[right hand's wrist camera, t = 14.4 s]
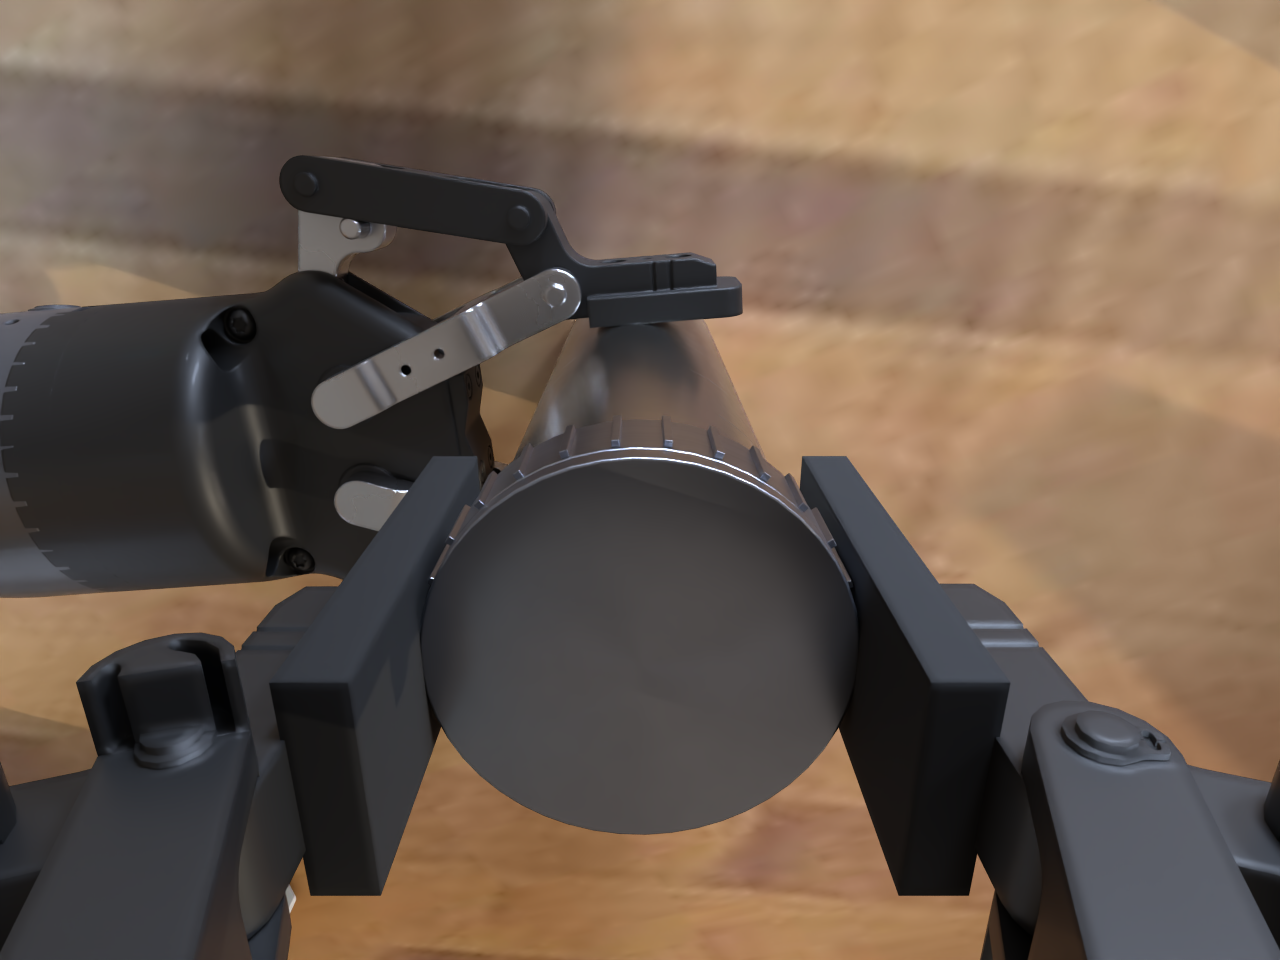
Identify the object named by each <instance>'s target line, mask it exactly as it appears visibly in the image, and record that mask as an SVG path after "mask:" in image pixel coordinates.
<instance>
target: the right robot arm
mask: <svg viewBox="0 0 1280 960" xmlns="http://www.w3.org/2000/svg"><path fill="white" fill-rule="evenodd" d="M800 491H801V493H802V495H803V497H804V499H805V501H806V503H807V505H808V506H809V508H810V509H811V510H812V509H813V508H815V507H816V508H817V509H818V511H819V513H820V514H821V516H822V518H823V520H824V522H825V524H826V526H827V528H828V530H829V531H830V533H831V535H832V537H833V539H834V541H835V543H836V545H837V546H835V547H834V548H835V549H836V551H837V553H838V555H839V557H840V559H841V561H842V563H843V565H844V567H845V569H846V571H847V573H848V575H849V576H850V578H851V580H852V584H853V587H852V588H850V590H851V593H852V597H853V600H854V603H855V606H856V610H857V617H858V624H859V630H860V641H859V651H858V661H857V669H856V677H855V686H854V690H853V693H852V697H851V700H850V703H849V706H848V708H847V711H846V713H845V715H844V717H843V719H842V721H841V723H840V725H839V730H840V733H841V736H842V738H843V741H844V744H845V747H846V749H847V752H848V755H849V758H850V761H851V763H852V766H853V769H854V772H855V775H856V777H857V780H858V783H859V786H860V789H861V791H862V794H863V797H864V800H865V803H866V805H867V808H868V811H869V814H870V817H871V819H872V822H873V825H874V828H875V831H876V833H877V836H878V839H879V842H880V845H881V847H882V850H883V853H884V856H885V859H886V861H887V864H888V867H889V870H890V873H891V875H892V878H893V881H894V884H895V887H896V889H897V892H898V895H899V896H969V893H970V888H971V882H972V877H973V872H974V867H975V862H976V857H977V854H978V856H979V858H980V860H981V862H982V864H983V866H984V868H985V870H986V872H987V874H988V876H989V878H990V880H991V882H992V884H993V886H994V888H995V892H994V897H993V901H992V906H991V911H990V916H989V920H988V925H987V930H986V935H985V939H984V944H983V949H982V954H981V958H980V960H1280V761H1279V764H1278V766H1277V769H1276V772H1275V775H1274V778H1273V781H1272V783H1270V782H1265V781H1260V780H1255V779H1251V778H1246V777H1241V776H1236V775H1231V774H1226V773H1221V772H1216V771H1211V770H1206V769H1202V768H1198V767H1194V766H1190V765H1187V763H1186V761H1185V759H1184V757H1183V755H1182V754H1181V753H1180V752H1179V750H1178V749H1177V748H1176V747H1175V745H1174V744H1173V743H1172V742H1171V740H1170V739H1169V738H1168V737H1167V736H1165V735H1164V734H1163V733H1161V732H1160V731H1158V730H1157V729H1156V728H1154V727H1153V726H1151V725H1150V724H1149V723H1147V722H1146V721H1144V720H1141V719H1139V718H1137V717H1135V716H1133V715H1130V714H1128V713H1126V712H1124V711H1121V710H1119V709H1116V708H1112V707H1108V706H1104V705H1100V704H1096V703H1092V702H1088V700H1087V699H1086V698H1085V697H1084V696H1083V695H1082V693H1081V692H1080V691H1079V690H1078V689H1077V687H1076V686H1075V685H1074V684H1073V683H1072V682H1071V680H1070V679H1069V678H1068V677H1067V676H1066V674H1065V673H1064V672H1063V671H1062V670H1061V669H1060V667H1059V666H1058V665H1057V664H1056V663H1055V662H1054V660H1053V659H1052V658H1051V657H1050V656H1049V654H1048V653H1047V652H1046V651H1045V650H1044V649H1043V647H1039V646H1038V641H1037V640H1036V639H1035V638H1034V637H1033V636H1032V634H1031V633H1030V632H1029V631H1028V630H1027V629H1023V624H1022V623H1021V621H1020V620H1019V619H1018V618H1017V617H1016V615H1015V614H1014V613H1013V612H1012V611H1011V610H1010V608H1009V607H1008V606H1007V605H1006V604H1005V602H1003V601H1001V600H1000V599H998V598H996V597H995V596H993V595H991V594H990V593H988V592H986V591H985V590H983V589H981V588H980V587H978V586H977V585H975V584H939V583H938V582H937V580H936V579H935V578H934V576H933V575H932V574H931V572H930V571H929V569H928V568H927V567H926V565H925V564H924V563H923V561H922V560H921V558H920V557H919V556H918V554H917V553H916V552H915V550H914V549H913V547H912V546H911V545H910V543H909V542H908V541H907V539H906V538H905V536H904V535H903V534H902V532H901V531H900V530H899V528H898V527H897V525H896V524H895V523H894V521H893V520H892V519H891V517H890V516H889V514H888V513H887V512H886V510H885V509H884V507H883V506H882V505H881V503H880V502H879V501H878V499H877V498H876V496H875V495H874V494H873V492H872V491H871V490H870V488H869V487H868V485H867V484H866V483H865V481H864V480H863V479H862V477H861V476H860V474H859V473H858V472H857V470H856V469H855V468H854V466H853V465H852V463H851V462H850V461H849V459H848V458H847V457H846V456H802V467H801V480H800ZM479 493H480V487H479V474H478V461H477V456H433V457H432V459H431V460H430V461H429V463H428V464H427V465H426V467H425V468H424V470H423V471H422V472H421V474H420V475H419V476H418V478H417V479H416V481H415V482H414V483H413V485H412V486H411V488H410V489H409V490H408V492H407V493H406V494H405V496H404V497H403V499H402V500H401V501H400V503H399V504H398V505H397V507H396V508H395V510H394V511H393V512H392V514H391V515H390V516H389V518H388V519H387V521H386V522H385V523H384V525H383V526H382V527H381V529H380V530H379V532H378V533H377V534H376V536H375V537H374V538H373V540H372V541H371V543H370V544H369V545H368V547H367V548H366V549H365V551H364V552H363V554H362V555H361V556H360V558H359V559H358V560H357V562H356V563H355V565H354V566H353V567H352V569H351V570H350V571H349V573H348V574H347V576H346V577H345V578H344V580H343V581H342V583H341V584H340V585H339V586H321V587H305V588H303V589H301V590H300V591H298V592H296V593H295V594H293V595H291V596H290V597H288V598H287V599H285V600H283V601H282V602H280V603H278V604H277V605H275V606H274V608H273V609H272V610H271V611H270V612H269V614H268V615H267V616H266V617H265V618H264V619H263V621H262V622H261V623H260V624H259V625H258V627H257V632H253V633H252V634H251V635H250V636H249V637H248V639H247V640H246V641H245V642H244V643H243V644H242V649H241V650H237V652H236V653H235V650H234V646H233V645H232V644H231V643H229V642H228V641H227V640H225V639H224V638H223V637H220V636H215V635H210V634H205V633H183V634H171V635H167V636H162V637H158V638H153V639H149V640H144V641H142V642H139V643H136V644H134V645H131V646H129V647H126V648H123V649H121V650H118V651H116V652H114V653H112V654H111V655H109V656H107V657H106V658H104V659H102V660H101V661H99V662H97V663H96V664H94V665H92V666H91V667H90V668H89V669H88V670H87V671H86V672H85V673H84V674H83V675H82V677H81V678H80V679H79V680H78V681H77V682H76V684H77V688H78V691H79V694H80V698H81V701H82V704H83V708H84V711H85V714H86V718H87V721H88V725H89V728H90V731H91V735H92V738H93V741H94V745H95V748H96V751H97V755H98V757H97V759H96V761H95V763H94V765H93V767H92V769H88V770H85V771H81V772H77V773H72V774H67V775H62V776H57V777H52V778H48V779H43V780H38V781H33V782H28V783H23V784H18V785H14V786H9V785H8V782H7V780H6V777H5V774H4V771H3V768H2V765H1V763H0V960H287V959H288V951H289V943H290V936H291V928H292V927H291V919H290V912H289V906H288V901H287V897H286V890H287V888H288V886H289V884H290V882H291V879H292V877H293V875H294V873H295V871H296V869H297V867H298V865H299V863H300V861H301V859H302V857H303V860H304V865H305V870H306V875H307V880H308V885H309V890H310V895H311V896H381V894H382V891H383V888H384V885H385V882H386V880H387V877H388V874H389V871H390V868H391V866H392V863H393V860H394V857H395V854H396V852H397V849H398V846H399V843H400V840H401V838H402V835H403V832H404V829H405V826H406V824H407V821H408V818H409V815H410V812H411V810H412V807H413V804H414V801H415V798H416V796H417V793H418V790H419V787H420V785H421V782H422V779H423V776H424V773H425V771H426V768H427V765H428V762H429V759H430V757H431V754H432V751H433V748H434V745H435V743H436V740H437V737H438V734H439V731H440V729H441V725H440V723H439V721H438V720H437V718H436V716H435V713H434V711H433V708H432V705H431V703H430V700H429V698H428V695H427V692H426V687H425V681H424V673H423V665H422V655H421V646H420V632H421V620H422V615H423V611H424V607H425V603H426V599H427V595H428V592H429V590H430V587H431V585H429V584H428V580H429V577H430V575H431V573H432V571H433V569H434V567H435V565H436V563H437V561H438V560H439V558H440V556H441V554H442V552H443V550H444V548H445V546H446V543H445V541H446V539H447V537H448V535H449V534H450V532H451V530H452V528H453V526H454V524H455V522H456V520H457V518H458V517H459V515H460V513H461V511H462V509H463V507H464V506H465V505H468V506H469V507H471V506H472V504H473V503H474V501H475V500H476V498H477V497H478V495H479Z"/></svg>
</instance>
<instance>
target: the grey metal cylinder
mask: <svg viewBox="0 0 1280 960" xmlns="http://www.w3.org/2000/svg"><path fill="white" fill-rule="evenodd" d="M617 415H621V416H622V420H632V419H639V420H662V416H670V419H671V422H675V423H681V424H687V425H691V426H695V427H698V428H701V429H705V430H708V429H709V426H713V427H716V428H717V430H718V433H719V435H722V436H724V437H726V438H728V439H731V440H733V441H735V442H737V443H740V444H741V445H743V446H744V447H746V448H748V449H749V450H750V448H751V447H752V446H755V447H757V448H758V449H759V450H760V452H761V455H762V457H763V459H765V460H766V458H765V456H764V454H763V451H762V449H761V447H760V444H759V442H758V440H757V438H756V435H755V433H754V431H753V429H752V426H751V424H750V422H749V419H748V417H747V415H746V413H745V410H744V408H743V406H742V403H741V401H740V399H739V397H738V394H737V392H736V390H735V388H734V385H733V383H732V381H731V378H730V376H729V374H728V372H727V369H726V367H725V365H724V363H723V360H722V358H721V356H720V353H719V351H718V349H717V347H716V344H715V342H714V340H713V337H712V335H711V333H710V331H709V329H708V326H707V324H706V323H705V321H704V320H703V319H699V320H686V321H673V322H660V323H648V324H630V325H622V326H610V327H597V328H590V326H589V318H580V319H577V320H576V321H575V323H574V324H573V326H572V329H571V331H570V333H569V335H568V337H567V340H566V342H565V344H564V346H563V349H562V351H561V353H560V356H559V358H558V360H557V362H556V365H555V367H554V369H553V372H552V374H551V376H550V378H549V381H548V383H547V385H546V387H545V390H544V392H543V394H542V397H541V399H540V401H539V403H538V406H537V408H536V410H535V412H534V415H533V417H532V419H531V422H530V424H529V426H528V428H527V431H526V433H525V435H524V438H523V440H522V442H521V444H520V447H519V449H518V451H517V453H516V456H515V458H514V460H516V459H517V458H518V457H520V455H521V453H522V450H523V448H524V447H525V446H526V445H528V444H531V445H532V447H535V446H537V445H539V444H541V443H543V442H545V441H547V440H549V439H551V438H553V437H555V436H558V435H561V434H564V433H565V430H566V427H567V426H570V425H574V427H575V429H577V428H581V427H585V426H590V425H594V424H599V423H603V422H610V421H613V416H617ZM514 460H513V461H514ZM766 461H767V460H766Z"/></svg>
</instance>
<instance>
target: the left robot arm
mask: <svg viewBox="0 0 1280 960" xmlns="http://www.w3.org/2000/svg"><path fill="white" fill-rule="evenodd" d="M279 179H280V188H281V191H282V193H283V195H284V197H285V199H286V200H287V201H288V202H289V203H290V204H291V205H292V206H293V207H294V208H296V209H298V272H297V273H294V274H291V275H289V276H288V277H286V278H284V279H283V280H282V281H280V282H279V283H278V284H277V285H275V286H274V287H273V288H271V289H269V290H268V291H266V292H260V293H251V294H238V295H226V296H213V297H201V298H188V299H175V300H163V301H150V302H138V303H125V304H112V305H100V306H88V307H80V306H73V305H44V306H37V307H35V308H34V309H30V310H28V311H26V312H15V313H3V314H0V597H1V598H30V597H49V596H62V595H76V594H90V593H103V592H119V591H133V590H147V589H164V588H178V587H192V586H207V585H221V584H236V583H250V582H264V581H272V580H278V579H283V578H288V577H293V576H298V575H304V574H311V573H317V574H325V575H329V576H334V577H337V578H340V579H342V580H344V578H345V577H346V576H347V574H348V573H349V571H350V570H351V569H352V567H353V566H354V565H355V563H356V562H357V560H358V559H359V558H360V556H361V555H362V554H363V552H364V551H365V549H366V548H367V547H368V545H369V544H370V543H371V541H372V540H373V538H374V537H375V536H376V534H377V533H378V532H379V530H380V529H381V527H382V526H383V525H384V523H385V522H386V521H387V519H388V518H389V516H390V515H391V514H392V512H393V511H394V510H395V508H396V507H397V505H398V504H399V503H400V501H401V500H402V499H403V497H404V496H405V494H406V493H407V492H408V490H409V489H410V488H411V486H412V485H413V483H414V482H415V481H416V479H417V478H418V476H419V475H420V474H421V472H422V471H423V470H424V468H425V467H426V465H427V464H428V463H429V461H430V460H431V459H432V457H433V456H477V461H478V474H479V487H480V491H481V489H482V487H483V485H484V483H485V481H486V479H487V477H488V475H489V474H490V473H491V472H492V471H494V472H495V473H497V474H499V473H500V472H501V471H502V470H503V469H504V468H505V467H506V466H507V465H508V464H504V463H501V462H497V461H494V456H493V449H492V442H491V438H490V436H489V434H488V432H487V429H486V427H485V425H484V422H483V420H482V418H481V416H480V404H481V395H482V387H483V383H482V376H481V370H480V363H482V362H484V361H486V360H488V359H489V358H491V357H493V356H495V355H496V354H498V353H499V352H501V351H502V350H504V349H506V348H508V347H509V346H511V345H514V344H516V343H518V342H520V341H522V340H524V339H526V338H528V337H530V336H532V335H534V334H536V333H539V332H541V331H543V330H545V329H547V328H549V327H551V326H553V325H555V324H557V323H559V322H561V321H564V320H567V319H580V318H589V326H590V328H597V327H610V326H622V325H630V324H648V323H660V322H673V321H686V320H699V319H711V318H724V317H732V316H737V315H740V314H742V313H743V310H742V284H741V283H740V282H739V281H738V279H737V278H736V277H716V264H715V263H714V262H713V261H712V259H709V258H706V257H703V256H700V255H697V254H694V253H678V254H668V255H654V256H641V257H629V258H617V259H605V260H592V259H588V258H585V257H583V256H581V255H579V254H578V253H577V252H576V251H575V250H574V249H573V248H572V247H571V246H570V244H569V242H568V240H567V238H566V236H565V234H564V232H563V230H562V228H561V226H560V223H559V221H558V219H557V217H556V209H555V205H554V203H553V201H552V199H551V198H550V197H549V196H548V195H547V194H546V193H545V192H543V191H542V190H539V189H536V188H530V187H524V186H518V185H512V184H505V183H499V182H493V181H487V180H480V179H474V178H468V177H462V176H456V175H449V174H443V173H437V172H431V171H424V170H418V169H412V168H406V167H399V166H393V165H387V164H381V163H375V162H368V161H362V160H356V159H350V158H342V157H327V156H303V155H302V156H296V157H293V158H291V159H289V160H288V161H287V162H286V163H285V164H284V166H283V167H282V169H281V172H280V178H279ZM397 227H403V228H409V229H415V230H422V231H428V232H435V233H441V234H447V235H454V236H460V237H467V238H473V239H479V240H486V241H492V242H499V243H505V244H506V246H507V248H508V250H509V252H510V254H511V256H512V258H513V260H514V262H515V264H516V266H517V268H518V270H519V272H520V274H521V276H522V277H520V278H518V279H516V280H514V281H512V282H510V283H508V284H506V285H504V286H502V287H500V288H498V289H495V290H493V291H490V292H488V293H486V294H484V295H482V296H480V297H478V298H476V299H474V300H472V301H470V302H468V303H466V304H464V305H462V306H460V307H458V308H456V309H453V310H451V311H449V312H447V313H445V314H443V315H441V316H439V317H437V318H435V319H433V320H431V319H430V318H428V317H426V316H424V315H423V314H421V313H419V312H418V311H416V310H414V309H412V308H411V307H409V306H407V305H406V304H404V303H402V302H400V301H399V300H397V299H395V298H394V297H392V296H390V295H388V294H387V293H385V292H383V291H382V290H380V289H378V288H376V287H375V286H373V285H371V284H369V283H368V282H366V281H364V280H363V279H361V278H359V277H357V276H356V275H354V274H352V273H350V272H349V266H350V263H351V260H352V259H353V257H354V256H355V255H356V254H357V253H366V252H371V251H374V250H377V249H381V248H384V247H386V246H387V245H389V244H390V243H391V242H392V240H393V239H394V237H395V234H396V229H397Z"/></svg>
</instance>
